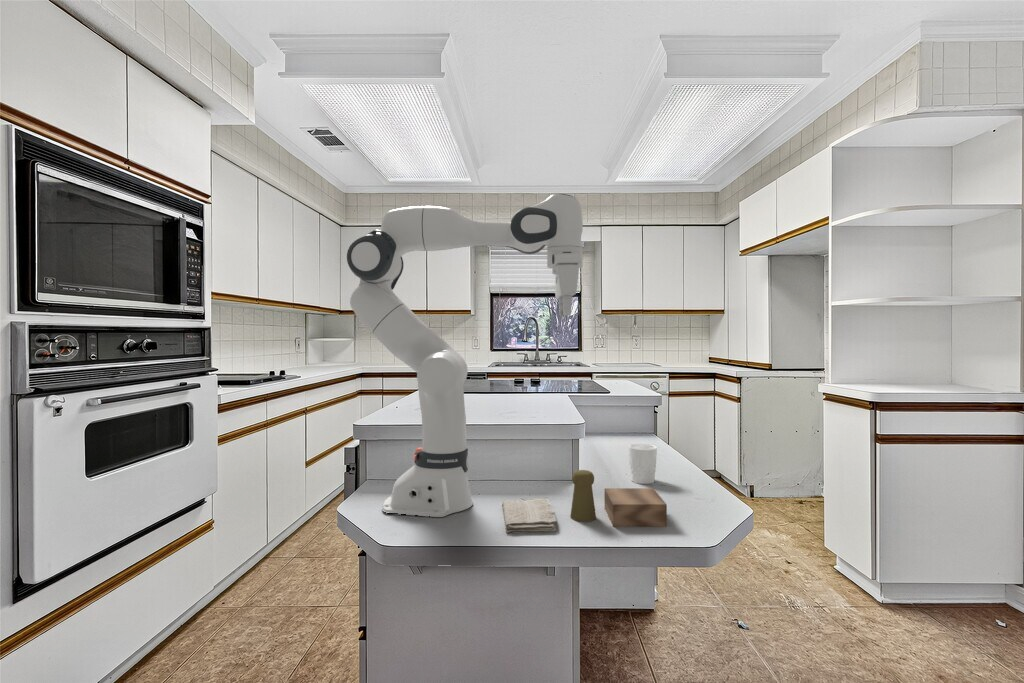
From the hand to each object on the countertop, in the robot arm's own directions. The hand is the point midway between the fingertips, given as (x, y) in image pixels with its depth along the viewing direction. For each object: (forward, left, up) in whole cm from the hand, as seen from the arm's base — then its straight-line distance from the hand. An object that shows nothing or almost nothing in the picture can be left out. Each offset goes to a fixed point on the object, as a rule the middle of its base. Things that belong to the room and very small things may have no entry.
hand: (565, 315), depth 134 cm
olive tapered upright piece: (+3, -9, -48) cm, 49 cm away
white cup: (+24, +21, -48) cm, 58 cm away
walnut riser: (+15, -9, -48) cm, 51 cm away
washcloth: (-10, -10, -49) cm, 51 cm away
